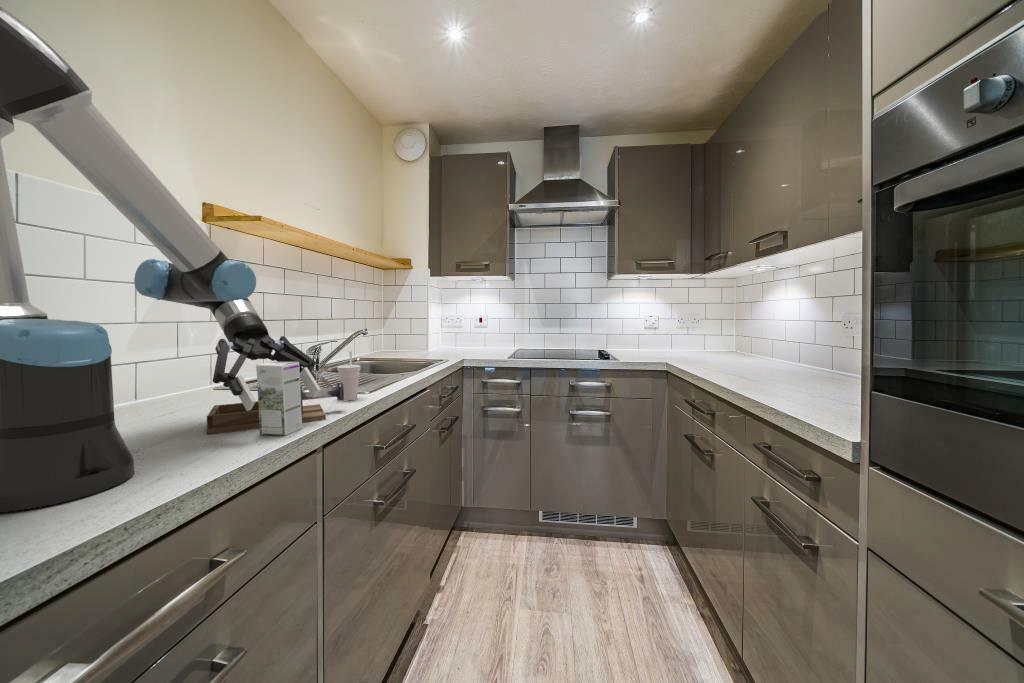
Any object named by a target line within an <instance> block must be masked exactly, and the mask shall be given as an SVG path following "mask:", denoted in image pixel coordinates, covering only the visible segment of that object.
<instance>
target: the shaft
mask: <svg viewBox="0 0 1024 683" xmlns="http://www.w3.org/2000/svg"><path fill="white" fill-rule="evenodd" d="M320 389H321V390H320V392H319V393H318V395H317V396H316V397H314V398H312V396H311V394H310V393H309V391H308V389H302V401H307V400H308V401H309V400H318V399H326V398H327V399H328V398H336V400H337V401H343V399H344V388H343V383H340V382H336V385H335V387H323V388H322V387H320Z"/></svg>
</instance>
